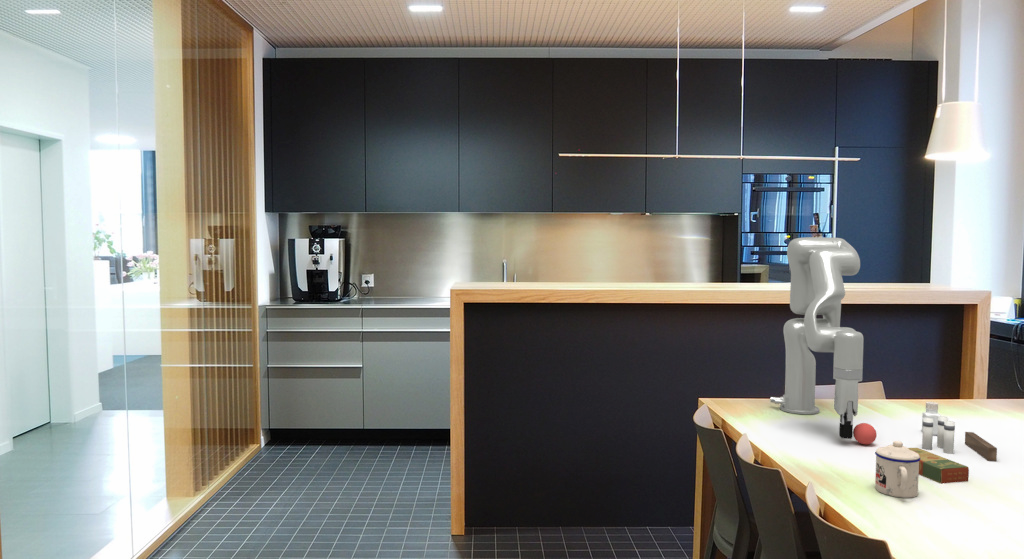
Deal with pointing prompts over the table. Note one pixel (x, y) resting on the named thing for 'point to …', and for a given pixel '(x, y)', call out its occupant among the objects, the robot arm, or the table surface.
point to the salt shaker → (932, 415)
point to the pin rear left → (941, 431)
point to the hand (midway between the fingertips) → (845, 437)
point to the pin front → (927, 433)
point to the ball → (864, 433)
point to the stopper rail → (981, 446)
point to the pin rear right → (949, 437)
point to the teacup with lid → (897, 471)
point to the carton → (940, 468)
